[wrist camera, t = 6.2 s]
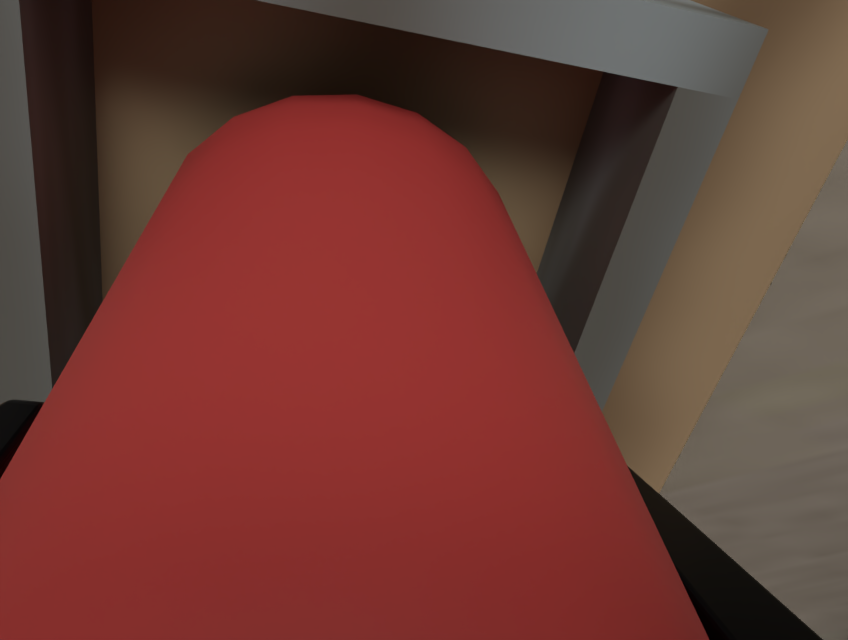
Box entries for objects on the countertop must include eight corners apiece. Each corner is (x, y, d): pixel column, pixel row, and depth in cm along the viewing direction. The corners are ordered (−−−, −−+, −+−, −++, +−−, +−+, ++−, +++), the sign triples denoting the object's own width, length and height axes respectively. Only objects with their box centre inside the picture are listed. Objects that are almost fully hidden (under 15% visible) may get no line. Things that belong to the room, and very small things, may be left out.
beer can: (570, 179, 13) (1301, 1181, 3) (413, 426, 16) (522, 1357, 6) (228, 10, 11) (-989, 1386, 1) (119, 329, 14) (-471, 1500, 4)
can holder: (905, -45, 13) (1092, -17, 10) (640, 479, 21) (697, 597, 17) (-322, -368, 10) (-679, -495, 6) (-123, 412, 17) (-239, 547, 13)
